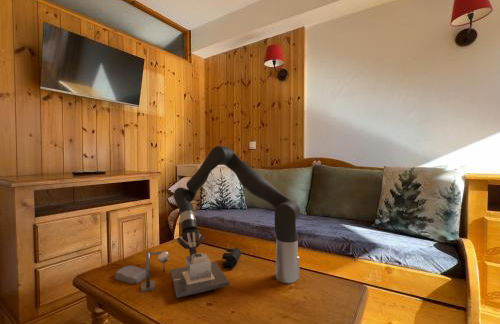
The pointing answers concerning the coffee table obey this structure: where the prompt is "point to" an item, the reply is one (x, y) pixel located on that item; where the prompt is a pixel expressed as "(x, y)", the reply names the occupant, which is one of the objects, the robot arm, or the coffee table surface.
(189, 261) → the cover
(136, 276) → the stone block
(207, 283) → the grey flat square slab
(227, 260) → the end cap
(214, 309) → the coffee table surface
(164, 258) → the dial indicator stand
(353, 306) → the coffee table surface
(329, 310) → the coffee table surface
